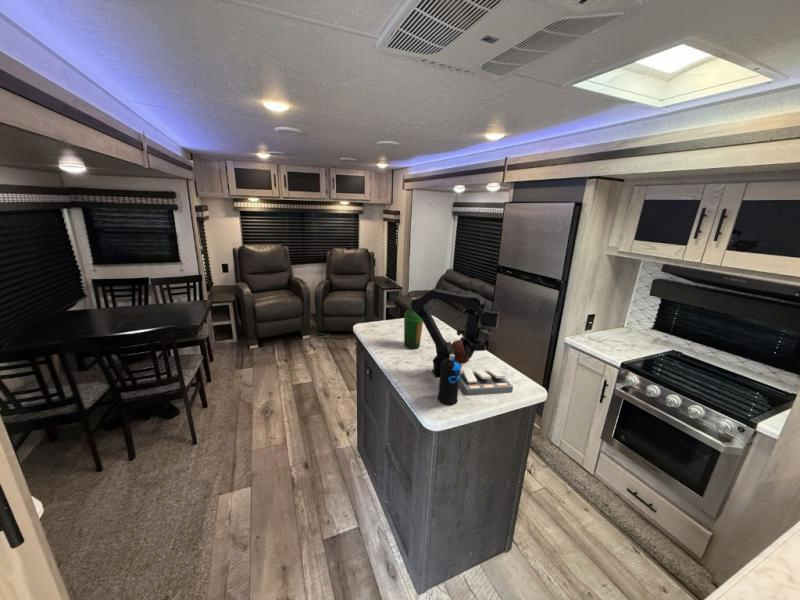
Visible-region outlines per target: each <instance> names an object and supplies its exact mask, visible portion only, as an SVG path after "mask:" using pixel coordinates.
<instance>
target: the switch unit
mask: <svg viewBox="0 0 800 600" xmlns="http://www.w3.org/2000/svg"><path fill="white" fill-rule="evenodd" d="M496 370H497V369H496ZM483 371H484V372H486V373H487V374H489V375H490V376H491V379H482V378H481V377H479V376H478V375H477V374H475V371H472V372H473V374H474V376H475V378H476V380H477V383H468V382H467V380H466V378H465V376H464V374H463V372H461V371H460V380H459V386H460V387H461V389H462V390H463V392H464V393H465V396H470V395H474V396H475V395H485V394H486V395H487V394H489V395H490V394H502V393H512V392H513V390H514V386H513V385H512V384H511V383H510V382H509V381H508V380H507V379H506V377H505V378H495V377H494V376H492V375H491V374H490V373H488V370H483ZM497 371H499V370H497Z"/></svg>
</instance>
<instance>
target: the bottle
mask: <svg viewBox="0 0 800 600" xmlns="http://www.w3.org/2000/svg"><path fill="white" fill-rule="evenodd" d="M416 298H417V297H412V298H411V299H410V301H409V306H410V308H409V309H408V310H407V309H406V311H405V312H404V313H403V318H404V319H403V320H404V322H403V324H404V325H403V330H404V331H403V332H404V333H403V339H404V341H403V343H404V344H403V345H404V347H405V348H406V349H409V350H416V349H419V348H420V346H421V339H422V330H423V326H424V325H423V324H424V322H423V320H422V319H421V317H419V316H418V315H417V314H416V313H415V312H414V310H413V309H412V307H411V302H412V301H413V300H414V299H416Z"/></svg>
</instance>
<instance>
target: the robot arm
mask: <svg viewBox="0 0 800 600" xmlns="http://www.w3.org/2000/svg"><path fill="white" fill-rule="evenodd" d="M415 298H416V299H414V300H413V301H412V302H411V305H410V308H411V307H412V309H413V310H414V312H415V313H416V314H417V315H418V316H419V317H421V319H422V320H423V324H424V325H425V328H426V330H427V332H428V334H429V335H430V337H431V339H432V341H433V343H434V345H435V352H436V355H435V356H434V358H433V359H432V364H433V365H432V369H431V372H432V374H433V376H434V377H435V378H440V373H441V362H442V361H444V360H445V359H449V357H450V354H454V348H453V347H452V345H451V344H452V342H451V341H446V340H445V339H444V337H443V334H442V333H441V330H440V329H439V327H438V325H437V323H436V322H435V320H434V318H433V316H432V314H431V309H430V304H429V302H430V301H432V300H433V299H434V300H438V301H442V302H443V301H444V302H448V303H452V304H456V305H460V306H462V307H463V308H464V309H463V310H462V311H461V313H462V314H466V317H465V323H464V324H463V327H459V328H457V330H456V335H457V336H458V337H459V336H460V338H459V340H461V342H462V344H463V347H464V350H465V353H466V355H468V358H469V359H472V357H473V355H474V352H482V351H483V352H484V351H486V350H487V345H486V344H485V343H484V342H483V341H482V340H481V339H483V340H486V341H489V339H490V338H491V336H492V334H491V333H490V331H488V330H486V328H492V329H498V325H499V320H500V319H499V314H500V313H499V311H491V310H488V308H487V307H486V305H485V304H484V299H483V297H482V296H481V295H480V294H478V293H467V294H466V293H465V294H463V293H457V292H452V291H447V290H442V289H437V288H436V287H435V288H434V287H433V288H432V289H430V290H429V291H428V292H427V293H426V294H425V293H424V295H419V296H417V297H415ZM480 324H481V325H480Z"/></svg>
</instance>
